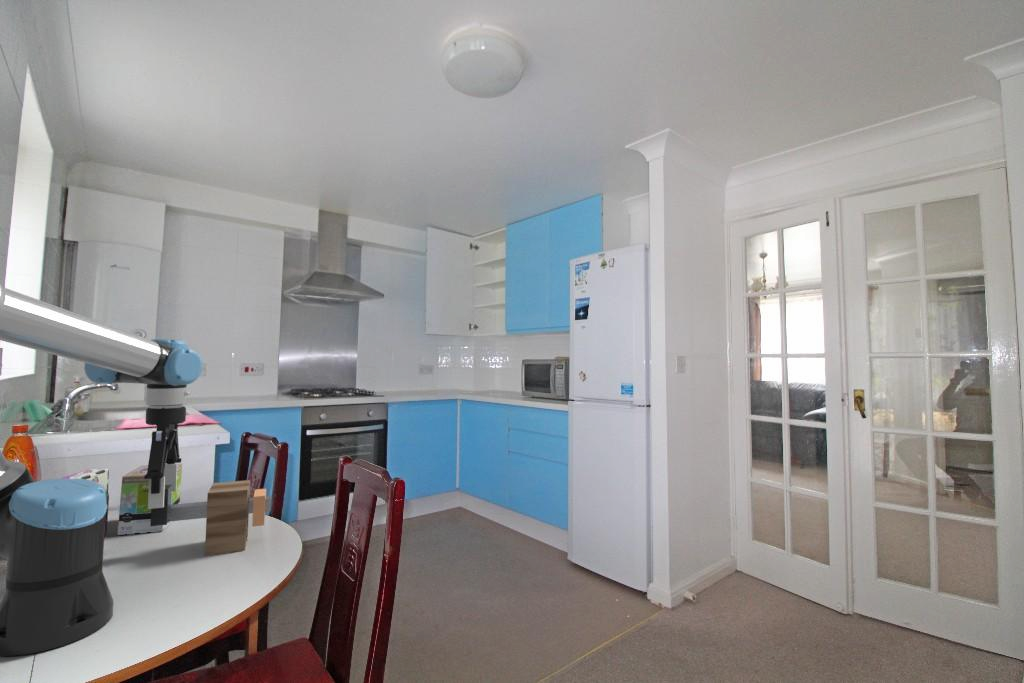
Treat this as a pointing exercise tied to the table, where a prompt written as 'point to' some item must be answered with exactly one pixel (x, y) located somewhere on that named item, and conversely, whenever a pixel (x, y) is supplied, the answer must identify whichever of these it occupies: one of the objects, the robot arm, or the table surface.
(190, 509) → the shaft
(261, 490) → the spacer
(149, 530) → the tea box
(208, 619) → the table surface
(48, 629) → the robot arm
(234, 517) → the bearing block
